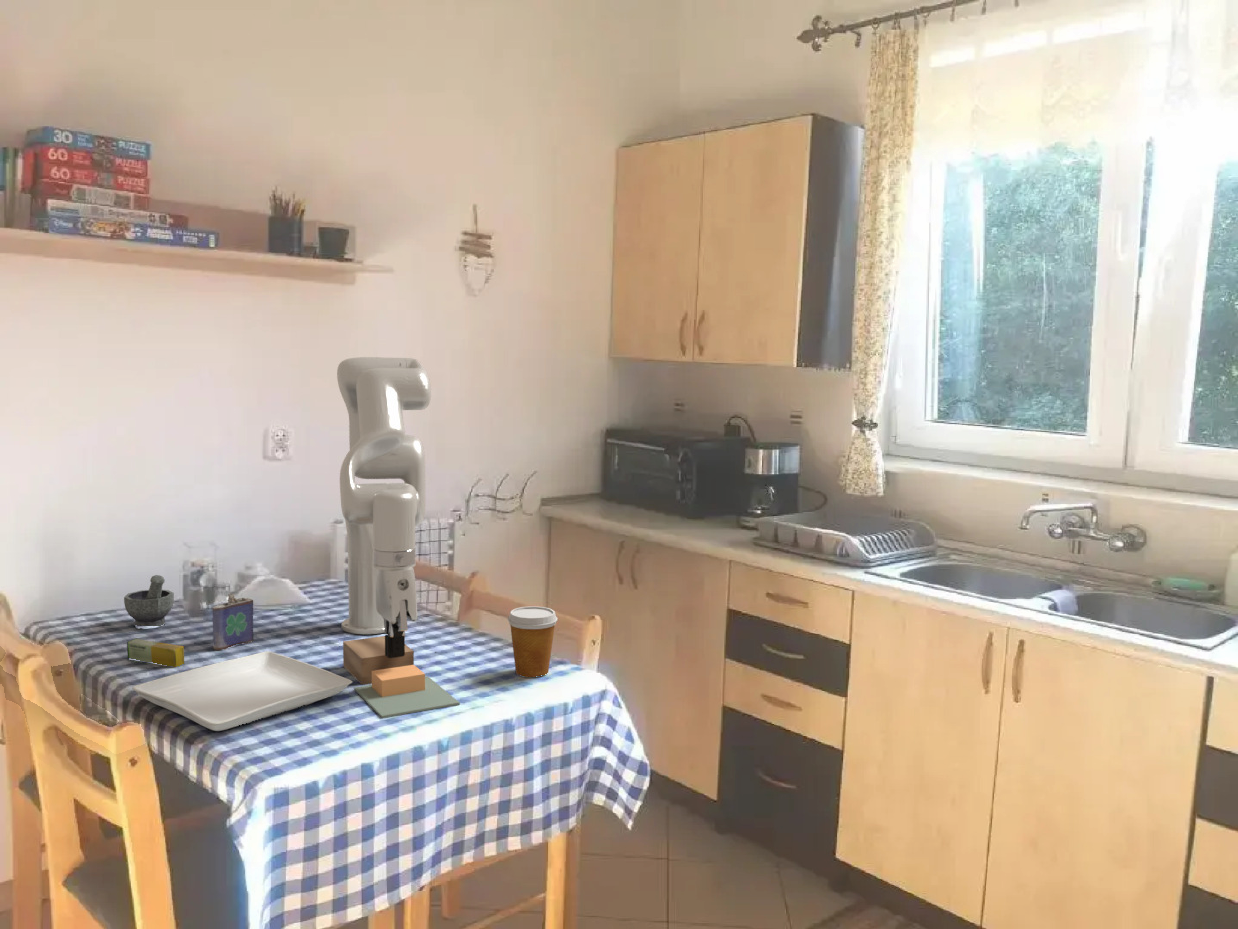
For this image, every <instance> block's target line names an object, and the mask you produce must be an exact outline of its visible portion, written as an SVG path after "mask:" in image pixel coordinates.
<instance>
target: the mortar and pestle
mask: <svg viewBox="0 0 1238 929" xmlns="http://www.w3.org/2000/svg"><path fill="white" fill-rule="evenodd" d="M164 583H165V578H164V576H162V575H159V574H154V575H152V576H151V577H150V585H149V588H148V589H144V590H139V591H138V590H137V591H134V592H130V593H127V594H126V595H125V596H124V597H123V602H124V607H125V612H126V613H127V614H128V615H129V617H131V618H132V619H133V620H134V624H135V625H137V626H161V625H163V624H164V623H165V622H166V618H165V617H166V616H168V615H169V613H170V612H171V610H172V608H173V605H174V598H175V593H174V592H173V591H172V590H171V591H170V590H168V589H163V585H164ZM166 623H167V622H166Z"/></svg>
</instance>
